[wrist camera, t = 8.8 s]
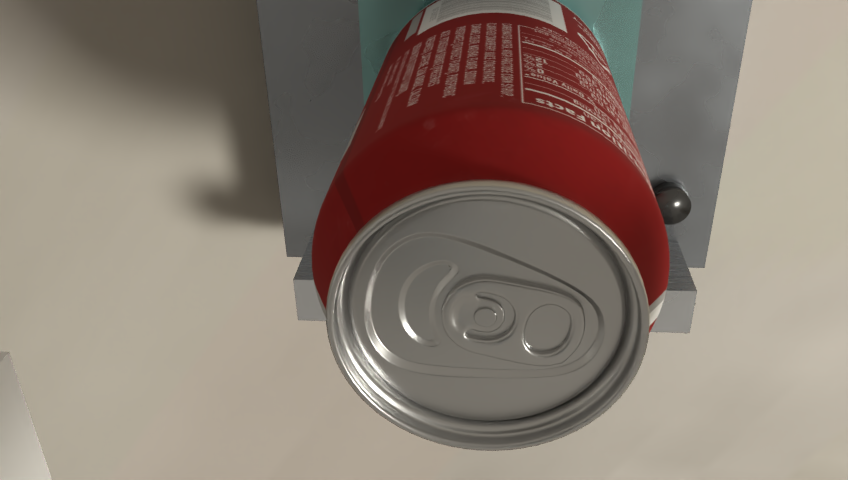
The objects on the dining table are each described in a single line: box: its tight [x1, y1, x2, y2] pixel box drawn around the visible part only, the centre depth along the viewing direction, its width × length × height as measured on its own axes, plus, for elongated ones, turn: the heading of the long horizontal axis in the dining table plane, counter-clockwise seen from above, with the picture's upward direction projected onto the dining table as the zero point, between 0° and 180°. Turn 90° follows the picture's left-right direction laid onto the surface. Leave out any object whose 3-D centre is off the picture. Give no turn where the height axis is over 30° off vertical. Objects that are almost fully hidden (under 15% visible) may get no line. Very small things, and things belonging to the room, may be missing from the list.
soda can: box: [312, 0, 670, 451], centre depth 19 cm, size 7×7×12 cm
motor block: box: [256, 0, 752, 333], centre depth 24 cm, size 14×13×6 cm
